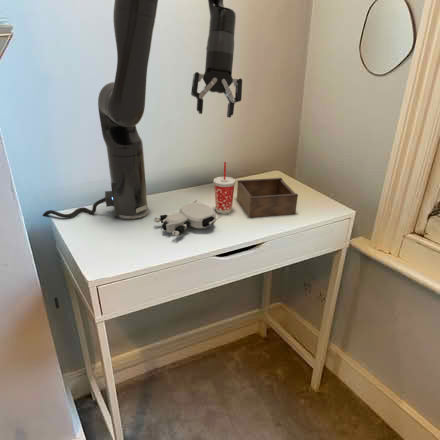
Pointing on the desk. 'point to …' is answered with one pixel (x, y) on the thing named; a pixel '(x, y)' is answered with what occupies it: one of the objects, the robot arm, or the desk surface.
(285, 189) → the crate
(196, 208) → the robot toy
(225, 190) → the beverage cup
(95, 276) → the desk surface
